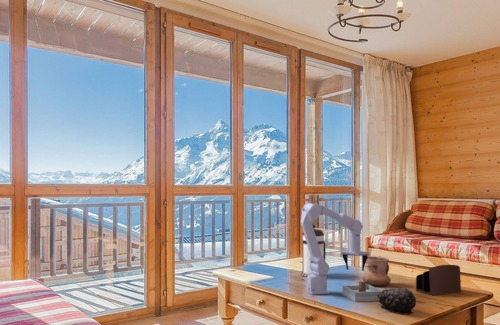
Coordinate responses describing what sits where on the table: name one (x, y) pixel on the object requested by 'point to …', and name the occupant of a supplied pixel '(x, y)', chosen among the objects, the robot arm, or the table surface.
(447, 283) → the letter holder
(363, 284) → the walnut peg
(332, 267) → the table surface
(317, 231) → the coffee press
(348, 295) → the slate box
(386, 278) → the ceramic jug
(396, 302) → the pine cone
